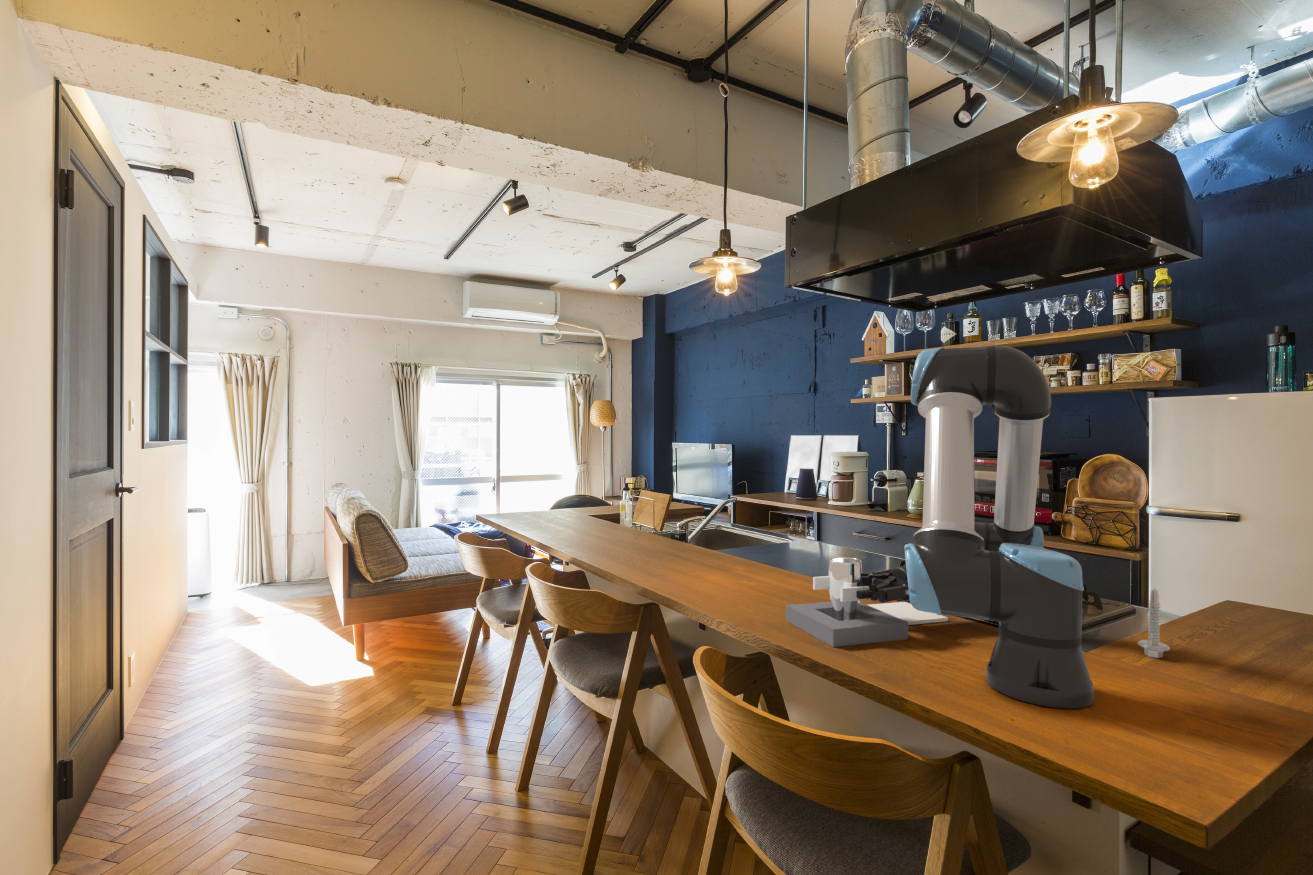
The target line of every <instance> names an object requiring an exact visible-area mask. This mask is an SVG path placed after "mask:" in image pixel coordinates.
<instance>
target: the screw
mask: <svg viewBox="0 0 1313 875" xmlns="http://www.w3.org/2000/svg"><path fill="white" fill-rule="evenodd" d="M1159 597H1160V596H1159V592H1158V590H1157V589H1156V588H1153V589H1151V591H1150V595H1149V602H1148V608H1149V609H1148V624H1147V626H1148V627H1147V629H1148V631H1147V632H1148V633H1147V635H1148V636H1147V638H1148V639H1140V640H1139V641H1137V645H1138V646H1139V647H1142V649H1144V650H1143V654H1144V655H1146V656H1147V657H1149V658H1156V659H1160V658H1163V656H1164V652H1168V651H1170V650H1171V647H1170V646H1169V645H1168V644H1166V643H1164V642H1161V640H1160V638H1161V633H1160V632H1161V628H1160V627H1161V625H1160V623H1161V618H1160V617H1161V612H1160V611H1161V606H1160V605H1161V603H1160V600H1159V599H1160V598H1159Z"/></svg>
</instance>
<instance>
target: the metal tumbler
mask: <svg viewBox="0 0 1313 875" xmlns="http://www.w3.org/2000/svg"><path fill="white" fill-rule="evenodd" d="M862 566H863V565H862V560H861V559H858V558H854V557H848V556H847V557H846V556H834V557H831V558H829V564H828V575H827V576H828V584H829V589H828V591H829V592H828V593H829V599H830V602H831V606H832V618H834V619H836V620H838V621H844V620H855V619H858V617H857V614H858V606H859V602H860V601H848V602H842V601H840V591H841V588H845V587H860V586H862V573H863V567H862Z"/></svg>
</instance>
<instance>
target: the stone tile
mask: <svg viewBox="0 0 1313 875" xmlns="http://www.w3.org/2000/svg"><path fill="white" fill-rule="evenodd" d="M867 605H868V606H870V607H873V608H875V609H878V610H880V611H882V612H885V613H887V614H890V615H892V616H895V617H897V618H899V619H902V620H904V621H907V622H908V626H911V625H912V626H914V625H921V624H922V625H924V624H933V623H942V622H949V617H948V616H946V615H943V614H941V615H937V614H935V613H930V612H924V611H919V610H917V609H915V608H914V607H913V606H912V605H911V602H908V601H898V602H897V601H895V602H883V603H872V604H871V603H870V604H867Z"/></svg>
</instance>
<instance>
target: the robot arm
mask: <svg viewBox="0 0 1313 875" xmlns="http://www.w3.org/2000/svg"><path fill="white" fill-rule="evenodd" d="M911 379H912V382H911V388H910V403H911V404H912V405H913V406H916V407H917V411H918V414H919V415H920V416H921V417H923V418H924V419H925V436H924V438H925V441H924V465H923V466H924V468H923V470H924V472H923V496H922V497H923V498H922V499H923V500H922V501H923V502H922V504H923V505H922V527H921V528H919V529H918V530H917V531H915V533H914V534H913V537H912V543H911V542H910V543H907V544H905V545H903V546H904V547H903V548H904V560H905V565H903V566H901V565H900V566H896V567H894V568H893V569H892V570H891V571H890V573H889V574H888V573H880V574H876V572H874V571H871V572H862V586H860V587H845V588H841V591H840V601H842V602H848V601H859V602H861V601H869V600H871V601H875V602H876V601H878V603H880V604H883V603H890V602H894V601H899V602H909V603H910V604H911V605H912V606H913V607H914V608H915V609H917V610H919V611H924V612H930V613H935V614H937V615H942V616H953V617H961V618H969V619H975V620H976V619H978V620H985V621H991V622H992V621H993V622H998V636H997V639H996V642H995V645H994V647H993V649H992V652H991V655H990V659H989V661H988V662H987V664H986V669H985V672H986V673H985V674H986V675H985V680H986V682H987V684H988V685H989V686H990V687H991V688H992V689H994V690H996V691H997V692H999V693H1001V694H1003V695H1005V696H1008V697H1010V698H1013V699H1016V700H1018V701H1019V700H1020V701H1022V702H1026V703H1029V704H1033V705H1037V706H1044V707H1048V708H1049V707H1050V708H1056V709H1057V708H1059V709H1082V708H1086V707H1089V706H1092V704H1094V702H1095V686H1094V683H1093V680H1091V675H1090V673H1089V669H1088V666H1087V663H1086V662H1087V661H1086V660H1085V657H1084V655H1083V654H1084V653H1083V650H1082V636H1083V634H1082V633H1083V631H1082V630H1083V629H1082V628H1083V627H1082V626H1083V624H1082V623H1083V591H1085V587H1084V582H1083V581H1084V580H1083V570H1082V569H1083V568H1082V565H1081V564H1080V563H1079V561H1078V560H1077V559H1075V558H1073V557H1072V556H1070V555H1068V554H1065V553H1062V552H1060V551H1055V550H1052V549H1048V548H1044V543H1045V542H1044V540H1045V539H1044V530H1043V529H1042V528H1041V527H1040V526H1036V525H1035V515H1036V503H1037V493H1038V484H1039V483H1038V481H1039V472H1040V470H1039V468H1040V459H1041V458H1040V457H1041V448H1042V438H1043V425H1044V420H1045V419H1046V418H1048V417H1049V416H1050V414H1051V407H1052V406H1051V405H1052V398H1051V397H1052V395H1051V389H1050V385H1049V383H1048V381H1047V378H1046V376H1045V374H1044V372H1043V371H1042V369H1041V368H1040V366H1039V365H1038V364H1037V363H1036V362H1035V361H1034V359H1032V358H1031V357H1030V356H1029V355H1027V354H1026V353H1025V352H1023V351H1022V350H1020V349H1017V348H1015V347H1011V346H1008V345H991V346H990V345H989V346H986V345H985V346H971V347H952V348H951V347H950V348H945V347H943V346H939V347H938V348H928V349H924V350H921V351H920V353H918V354H917V357H916V360H915V363H914V366H913V371H912V378H911ZM985 405H986V406H988V405H989V406H991V405H992V406H993V405H994V414H995V415H996V416H997V417H998V418H999V425H998V426H999V428H998V446H997V461H996V462H997V463H996V464H997V465H996V480H995V495H994V496H995V499H994V518H993V522H990V523H989V522H978V521H975V426H974V425H975V423H974V422H975V418H977V417H978V416H980V415H981V413H982V411H983V406H985ZM828 576H829V575H825V576H813V577H812V590H814V591H819V590H829V584H828Z"/></svg>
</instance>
